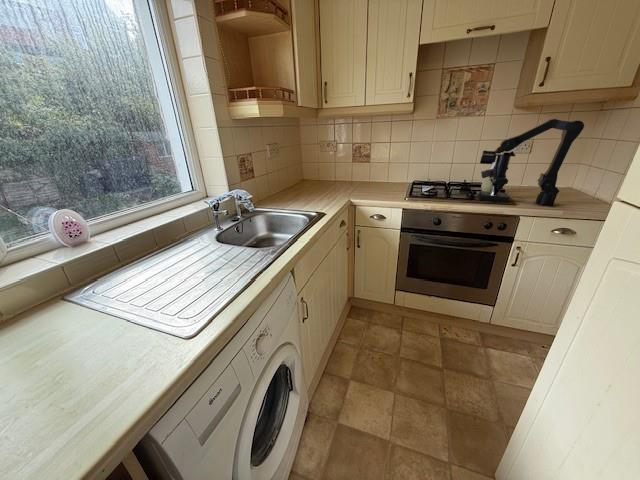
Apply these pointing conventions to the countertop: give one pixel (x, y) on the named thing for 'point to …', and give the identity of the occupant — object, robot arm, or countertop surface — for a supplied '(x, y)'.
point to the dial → (493, 190)
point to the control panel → (494, 197)
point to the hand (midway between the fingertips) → (493, 193)
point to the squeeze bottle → (487, 182)
